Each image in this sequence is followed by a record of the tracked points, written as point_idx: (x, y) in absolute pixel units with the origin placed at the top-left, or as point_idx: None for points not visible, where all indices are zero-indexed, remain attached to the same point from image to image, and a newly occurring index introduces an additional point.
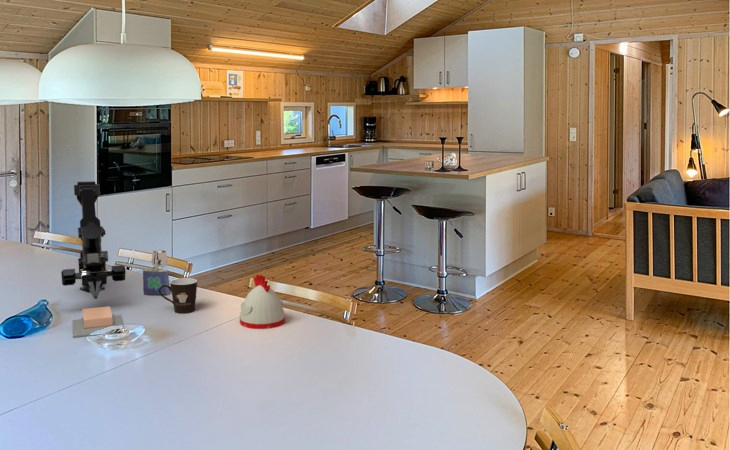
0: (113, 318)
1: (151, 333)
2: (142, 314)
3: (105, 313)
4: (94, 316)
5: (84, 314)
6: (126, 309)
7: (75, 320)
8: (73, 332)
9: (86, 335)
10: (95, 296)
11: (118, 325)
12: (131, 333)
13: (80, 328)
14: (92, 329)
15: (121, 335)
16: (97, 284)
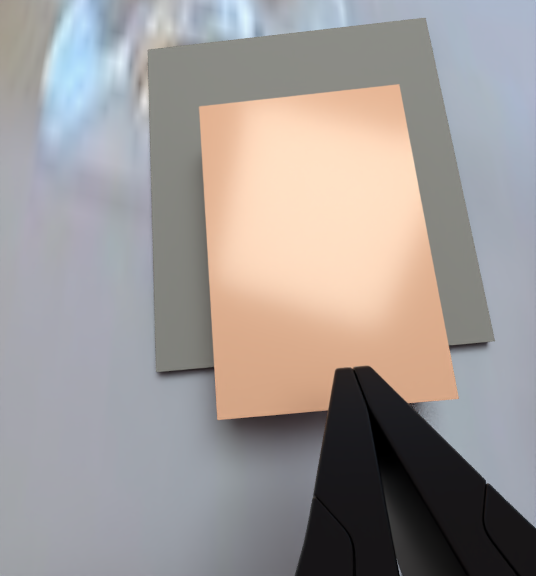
0: (206, 292)
1: (23, 8)
2: (12, 375)
3: (249, 209)
4: (328, 152)
5: (413, 223)
6: (107, 559)
7: (468, 320)
8: (434, 77)
9: (353, 30)
10: (357, 370)
11: (178, 138)
12: (120, 29)
13: None
14: None
15: (171, 11)
16: (366, 555)
